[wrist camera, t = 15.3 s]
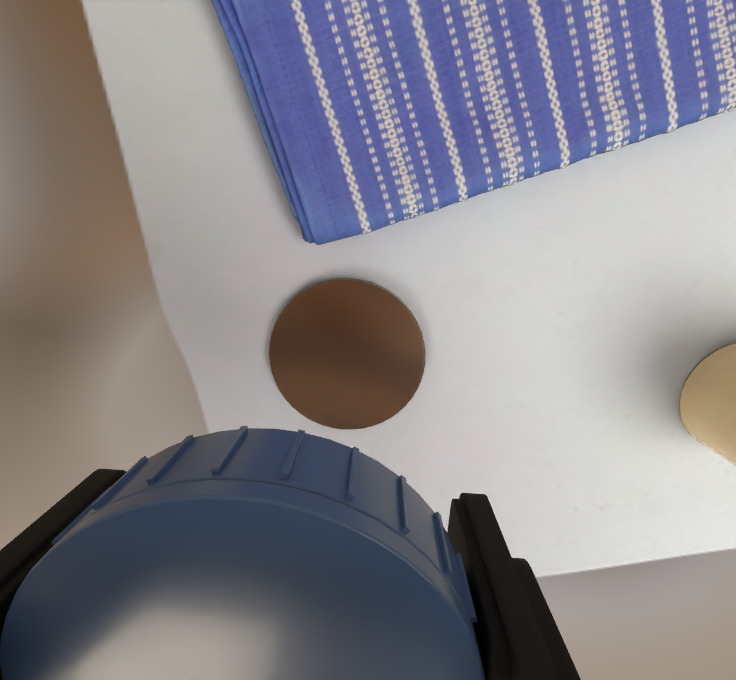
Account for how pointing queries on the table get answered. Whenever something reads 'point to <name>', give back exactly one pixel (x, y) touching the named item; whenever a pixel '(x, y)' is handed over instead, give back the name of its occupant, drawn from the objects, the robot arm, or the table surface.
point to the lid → (248, 573)
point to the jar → (712, 402)
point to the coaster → (347, 354)
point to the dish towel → (464, 93)
